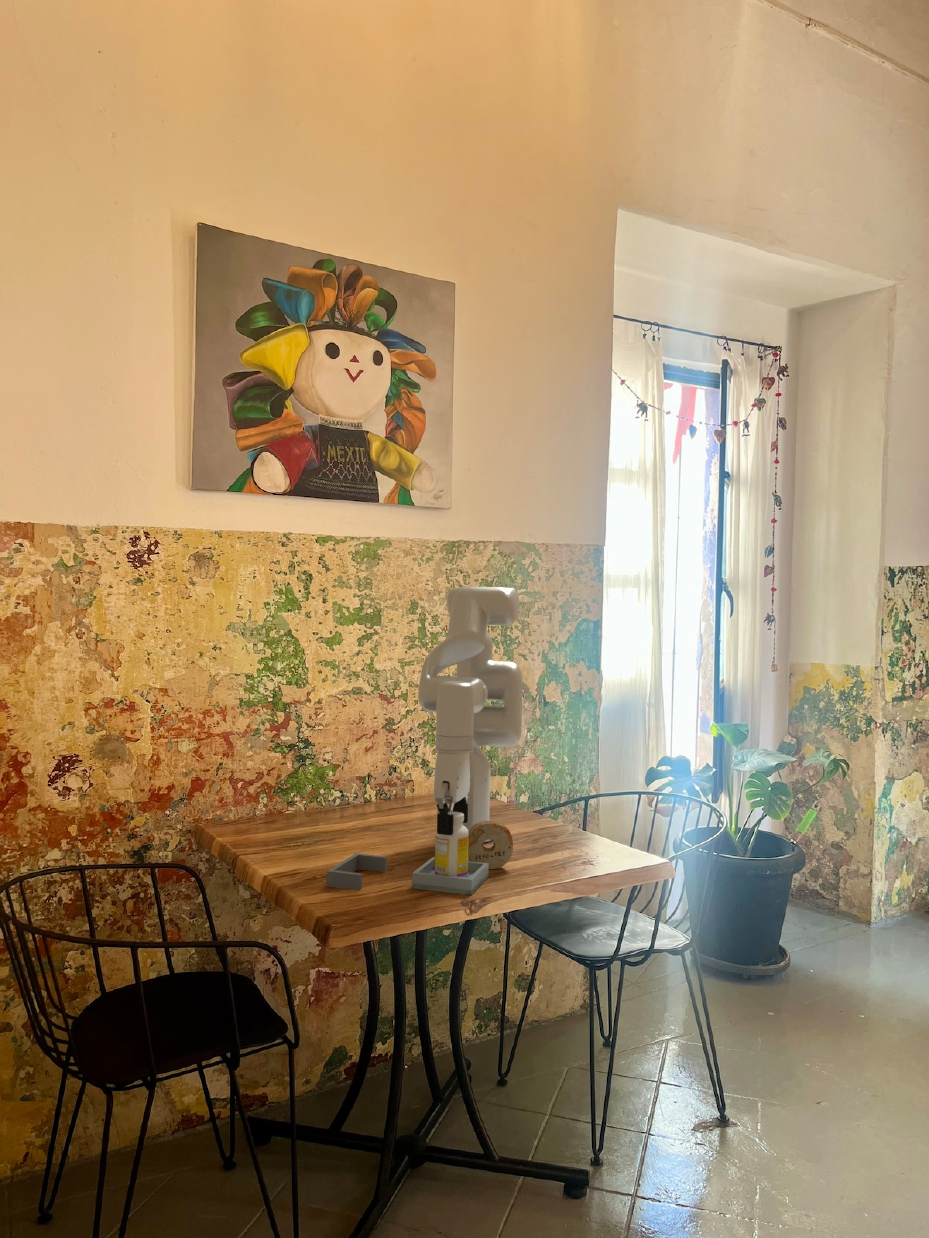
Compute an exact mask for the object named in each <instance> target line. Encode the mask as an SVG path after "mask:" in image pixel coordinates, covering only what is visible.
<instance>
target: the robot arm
mask: <svg viewBox="0 0 929 1238" xmlns="http://www.w3.org/2000/svg"><path fill="white" fill-rule="evenodd" d="M520 605H521V604H520V597H519V594H518V592H517V590H516V589H515V588H514V587H505V586H504V587H500V586H498V587H497V586H459V587H455V588H452V589H450V590H449V591H448V593H447V595H446V608H447V612H448V616H449V622H448V630H447V637H446V638H445V639H444V640H443V641H441V642H440V643H439V644H437V645H436V646H435V647H434V648H433V649H432V650H431V651H430V652H429V653H428V655H427V656H426V658H425V660H424V661H423V663H422V664H423V665H422V667H421V671H420V678H419V684H418V690H417V691H418V693H417V694H418V695H417V699H418V704H419V706H420V707H421V708H422V709H423V710H424V711H426V712H428V713H429V712H430V713H435V751H436V752H437V755H436V760H435V768H434V779H433V782H434V783H433V798H432V799H433V801H434V802H437V804H436V807H437V808H436V809H437V810H436V829H437V833H438V834H442V835H452V834H453V821H454V815H453V814H452V812H460V813H463V814H464V821H463V826H465V827H466V828H467V829H468V831H469V829H470V828H471V827H472V826H473V825H475V824H476V823H478V822H483V821H490V809H491V808H490V803H491V774H492V773H491V768H492V767H491V763H490V759H489V757H488V756H487V755H486V753H485V752H484V751H483V750H482V749H481V747H507V748H509V747H514V746H516V745H518V744H519V742H520V741H521V737H522V724H523V723H522V722H523V718H522V717H523V675H522V670H521V668H520V666H519V665H518V664H517V663H515V662H513V661H504V660H503V661H501V660H500V661H498V660H493V646H494V645H493V644H494V642H493V639H492V637H491V635H490V634H489V632H488V631H487V628H488V626H511V625H513V624H514V623H515V622H516V621H517V619H518V616H519V613H520V607H521V606H520ZM452 666H456V676H454V675H453V676H451V675H438V674H440V673H441V672H442V671H444V670H446V669H447V668H450V667H452ZM488 701H494V702H495V701H497V702H501V703H502V704H503V706H500V705H499V706H496V705H487V702H488ZM491 841H492V840H490V839H488V840H485V841H484V843H488V842H491Z"/></svg>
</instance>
